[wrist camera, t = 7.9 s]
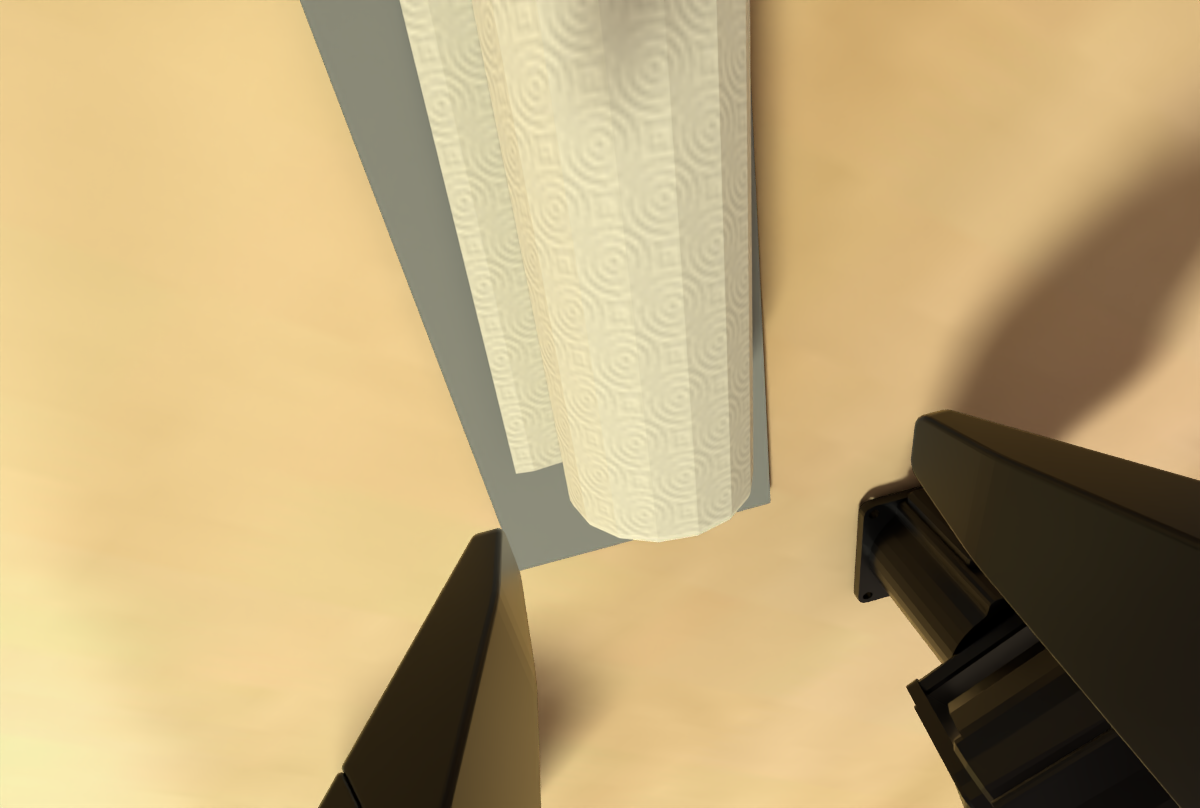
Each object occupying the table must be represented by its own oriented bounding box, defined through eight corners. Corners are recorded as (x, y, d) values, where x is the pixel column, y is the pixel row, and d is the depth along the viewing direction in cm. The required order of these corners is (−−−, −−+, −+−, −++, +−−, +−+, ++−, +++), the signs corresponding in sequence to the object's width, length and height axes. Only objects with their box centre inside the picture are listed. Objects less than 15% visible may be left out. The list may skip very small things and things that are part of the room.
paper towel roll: (793, 478, 19) (832, -709, 9) (659, 582, 16) (467, -1086, 5) (640, 409, 24) (550, -381, 14) (516, 477, 21) (280, -477, 11)
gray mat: (765, 495, 25) (770, 502, 25) (517, 562, 25) (517, 571, 24) (722, -334, 13) (731, -348, 12) (215, -235, 12) (205, -247, 12)
